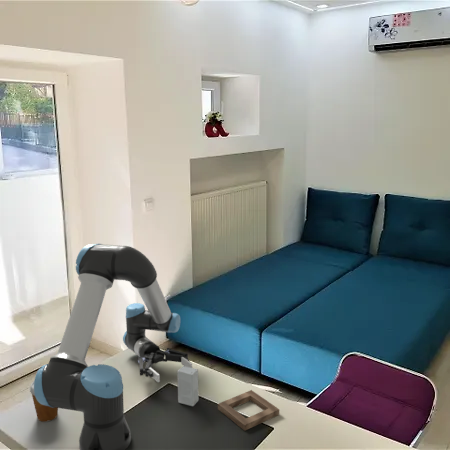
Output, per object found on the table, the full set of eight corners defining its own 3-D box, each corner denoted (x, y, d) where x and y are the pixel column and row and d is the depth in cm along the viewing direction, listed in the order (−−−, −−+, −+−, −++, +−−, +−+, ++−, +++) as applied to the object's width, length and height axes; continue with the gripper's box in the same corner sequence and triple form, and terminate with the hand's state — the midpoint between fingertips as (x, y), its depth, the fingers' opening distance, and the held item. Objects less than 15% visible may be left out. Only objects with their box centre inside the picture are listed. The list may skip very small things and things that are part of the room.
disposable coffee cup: (30, 426, 156) (27, 392, 154) (33, 410, 165) (30, 377, 163) (62, 422, 159) (59, 388, 156) (63, 405, 168) (61, 373, 165)
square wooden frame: (244, 430, 155) (244, 425, 154) (217, 409, 166) (217, 403, 166) (279, 414, 163) (279, 409, 163) (251, 395, 175) (251, 390, 174)
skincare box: (198, 400, 171) (198, 369, 169) (193, 406, 168) (192, 374, 165) (183, 396, 174) (183, 365, 171) (177, 402, 170) (176, 371, 167)
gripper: (175, 350, 201) (204, 371, 184) (118, 368, 186) (144, 393, 170) (174, 333, 199) (204, 353, 183) (117, 350, 185) (143, 373, 168)
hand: (175, 372), depth 176 cm, fingers open, 13 cm apart
